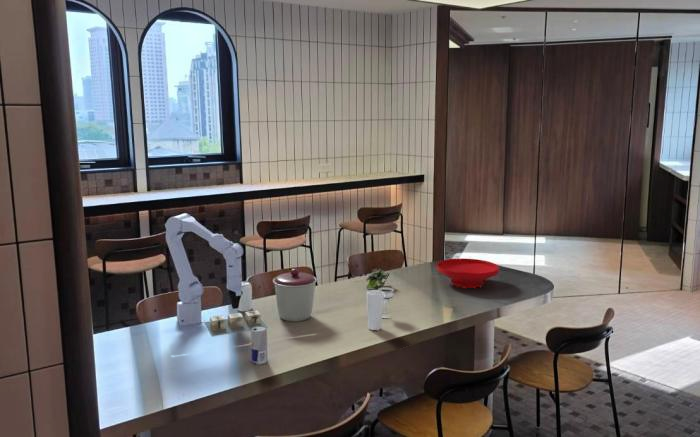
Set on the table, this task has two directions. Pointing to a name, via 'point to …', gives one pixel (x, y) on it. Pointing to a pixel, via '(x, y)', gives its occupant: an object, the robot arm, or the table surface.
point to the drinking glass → (374, 308)
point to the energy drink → (259, 345)
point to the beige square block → (217, 322)
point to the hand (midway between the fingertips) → (235, 308)
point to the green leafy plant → (377, 278)
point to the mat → (232, 330)
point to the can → (246, 297)
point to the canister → (294, 295)
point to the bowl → (467, 271)
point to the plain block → (235, 320)
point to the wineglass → (387, 297)
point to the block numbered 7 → (252, 317)
